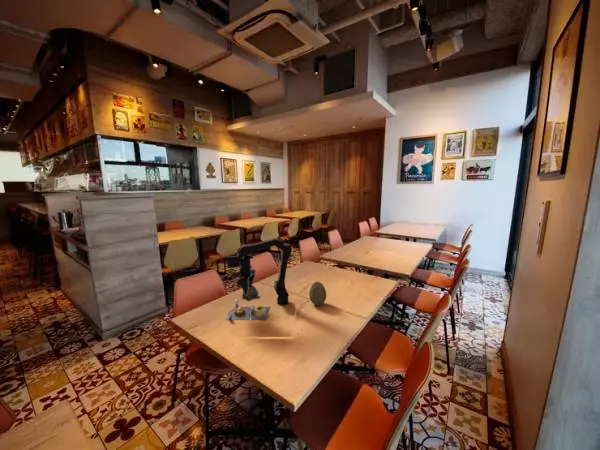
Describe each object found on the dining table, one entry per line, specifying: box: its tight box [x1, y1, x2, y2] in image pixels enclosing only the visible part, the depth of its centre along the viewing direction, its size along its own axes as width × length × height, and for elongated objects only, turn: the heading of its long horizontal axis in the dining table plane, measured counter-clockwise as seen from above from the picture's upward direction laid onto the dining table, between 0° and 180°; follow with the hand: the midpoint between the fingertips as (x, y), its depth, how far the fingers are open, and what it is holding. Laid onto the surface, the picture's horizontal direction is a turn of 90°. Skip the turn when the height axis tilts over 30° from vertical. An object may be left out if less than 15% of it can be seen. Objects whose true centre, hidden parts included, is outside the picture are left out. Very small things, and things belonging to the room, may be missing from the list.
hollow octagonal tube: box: [254, 305, 266, 318], centre depth 139 cm, size 6×6×4 cm
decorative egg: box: [308, 281, 327, 306], centre depth 151 cm, size 11×11×15 cm
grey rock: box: [241, 284, 259, 300], centre depth 164 cm, size 11×9×10 cm
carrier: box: [225, 298, 271, 321], centre depth 141 cm, size 23×15×6 cm, turn 87°
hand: (247, 290), depth 146 cm, fingers open, 9 cm apart
